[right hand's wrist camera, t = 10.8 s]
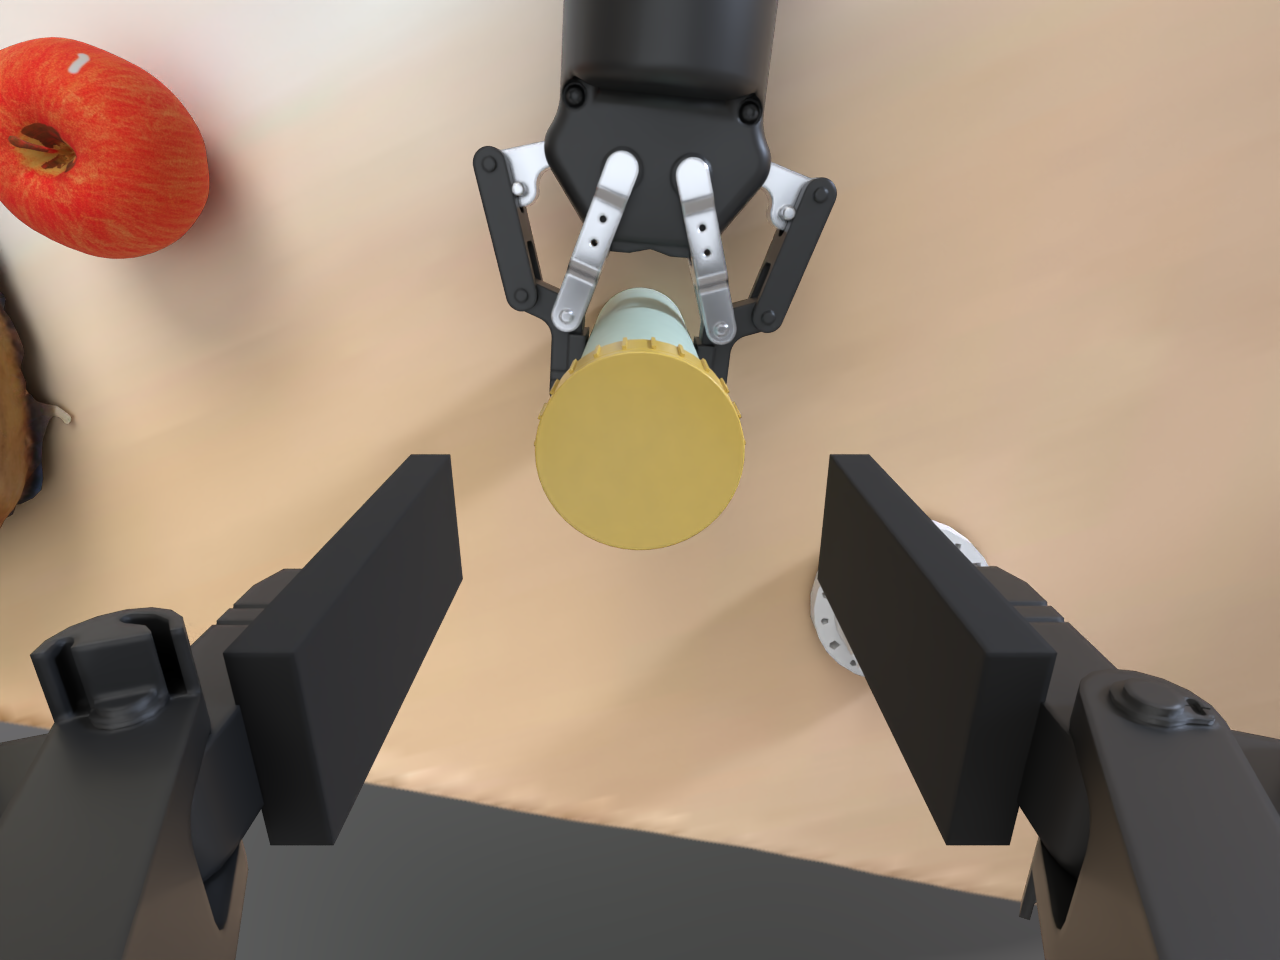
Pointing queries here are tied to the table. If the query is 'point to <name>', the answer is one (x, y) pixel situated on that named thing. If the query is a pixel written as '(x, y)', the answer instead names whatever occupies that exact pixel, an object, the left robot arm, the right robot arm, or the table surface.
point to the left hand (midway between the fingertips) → (635, 420)
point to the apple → (96, 150)
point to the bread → (19, 424)
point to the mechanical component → (829, 625)
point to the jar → (640, 320)
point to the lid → (639, 445)
